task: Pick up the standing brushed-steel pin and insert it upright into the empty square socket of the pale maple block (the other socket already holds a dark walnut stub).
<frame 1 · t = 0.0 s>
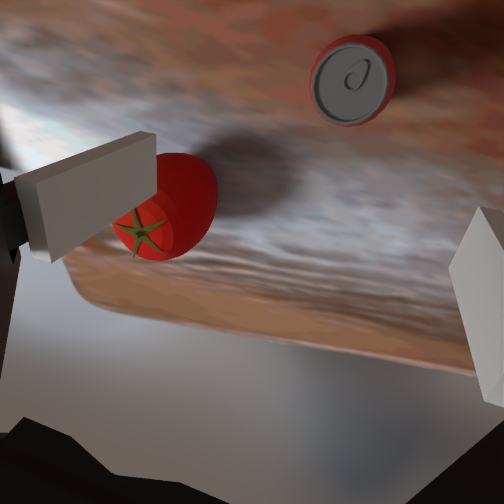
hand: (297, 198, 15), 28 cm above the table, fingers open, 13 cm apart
beer can: (358, 73, 37), on the table
tomato: (192, 185, 49), on the table
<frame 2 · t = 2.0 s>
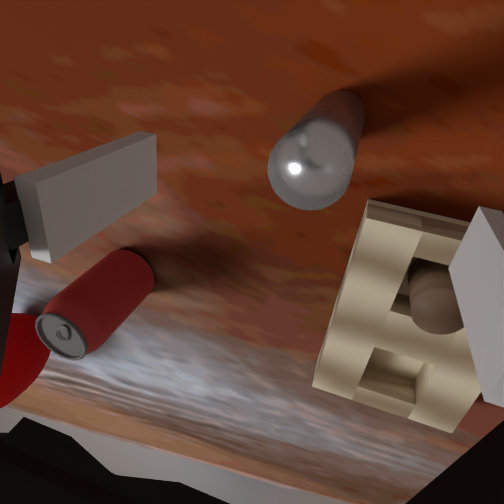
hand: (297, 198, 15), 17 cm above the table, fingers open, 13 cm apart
steel pin: (339, 117, 29), on the table
beer can: (133, 270, 45), on the table
tomato: (37, 325, 57), on the table
socket block: (411, 310, 36), on the table
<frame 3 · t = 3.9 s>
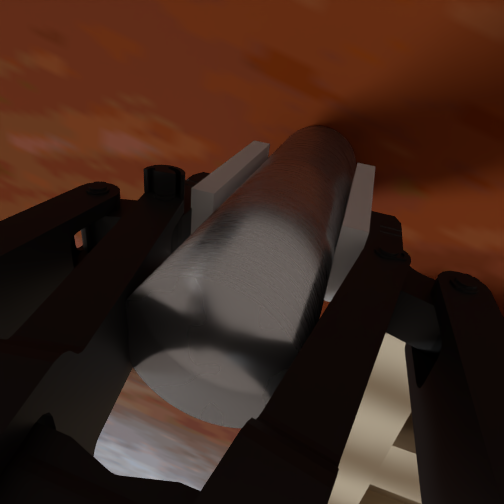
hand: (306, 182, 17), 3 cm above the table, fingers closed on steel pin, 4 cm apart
steel pin: (315, 166, 19), on the table, touching gripper
socket block: (422, 425, 25), on the table
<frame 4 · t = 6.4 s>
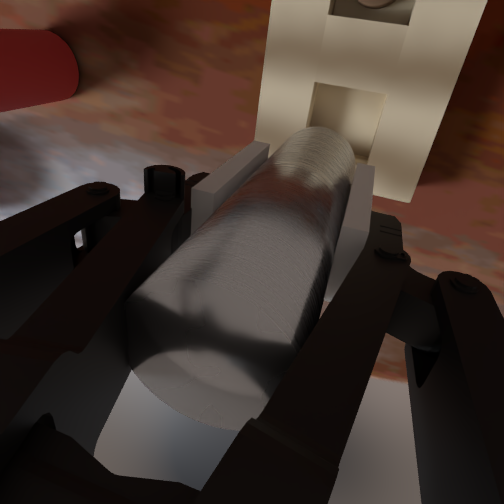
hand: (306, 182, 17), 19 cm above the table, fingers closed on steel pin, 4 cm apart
steel pin: (315, 166, 19), point 17 cm above the table, touching gripper
beer can: (57, 66, 39), on the table
socket block: (361, 53, 30), on the table
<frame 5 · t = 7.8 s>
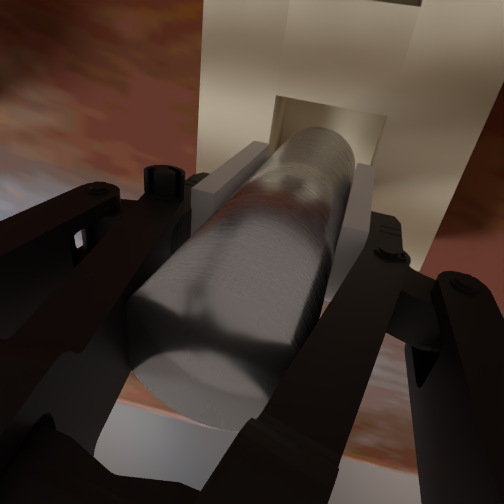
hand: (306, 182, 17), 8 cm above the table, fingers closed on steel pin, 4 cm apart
steel pin: (315, 167, 19), point 5 cm above the table, touching gripper
socket block: (348, 52, 20), on the table
when the fingers open (5 cm above the table, at t = 8.8 s): steel pin drops 1 cm, resting on socket block.
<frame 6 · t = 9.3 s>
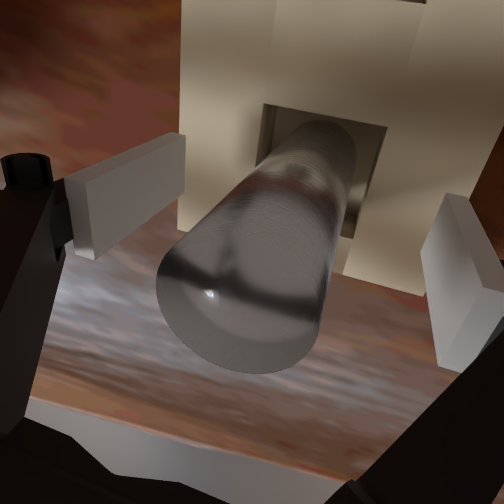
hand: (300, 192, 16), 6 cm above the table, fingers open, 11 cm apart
steel pin: (318, 158, 20), point 1 cm above the table, touching socket block
socket block: (344, 55, 19), on the table
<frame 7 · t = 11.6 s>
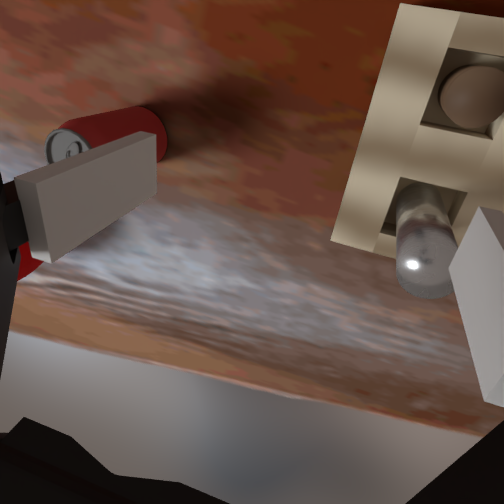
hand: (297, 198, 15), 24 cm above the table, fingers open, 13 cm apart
steel pin: (418, 202, 36), point 1 cm above the table, touching socket block
beer can: (145, 135, 43), on the table
tomato: (40, 220, 55), on the table
socket block: (438, 148, 34), on the table
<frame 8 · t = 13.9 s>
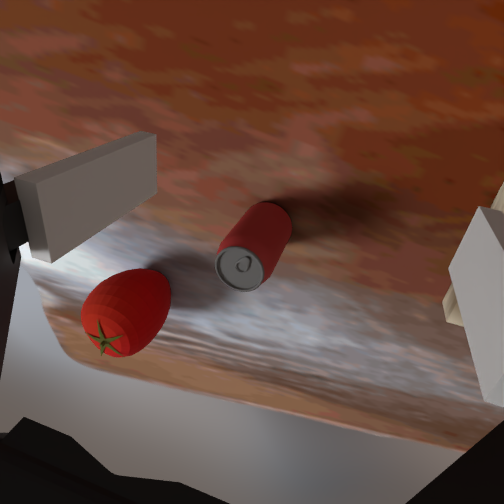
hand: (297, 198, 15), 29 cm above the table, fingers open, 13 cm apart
beer can: (269, 223, 49), on the table
tomato: (153, 283, 61), on the table
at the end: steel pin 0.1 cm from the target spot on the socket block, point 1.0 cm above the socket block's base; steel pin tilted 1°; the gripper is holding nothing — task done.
